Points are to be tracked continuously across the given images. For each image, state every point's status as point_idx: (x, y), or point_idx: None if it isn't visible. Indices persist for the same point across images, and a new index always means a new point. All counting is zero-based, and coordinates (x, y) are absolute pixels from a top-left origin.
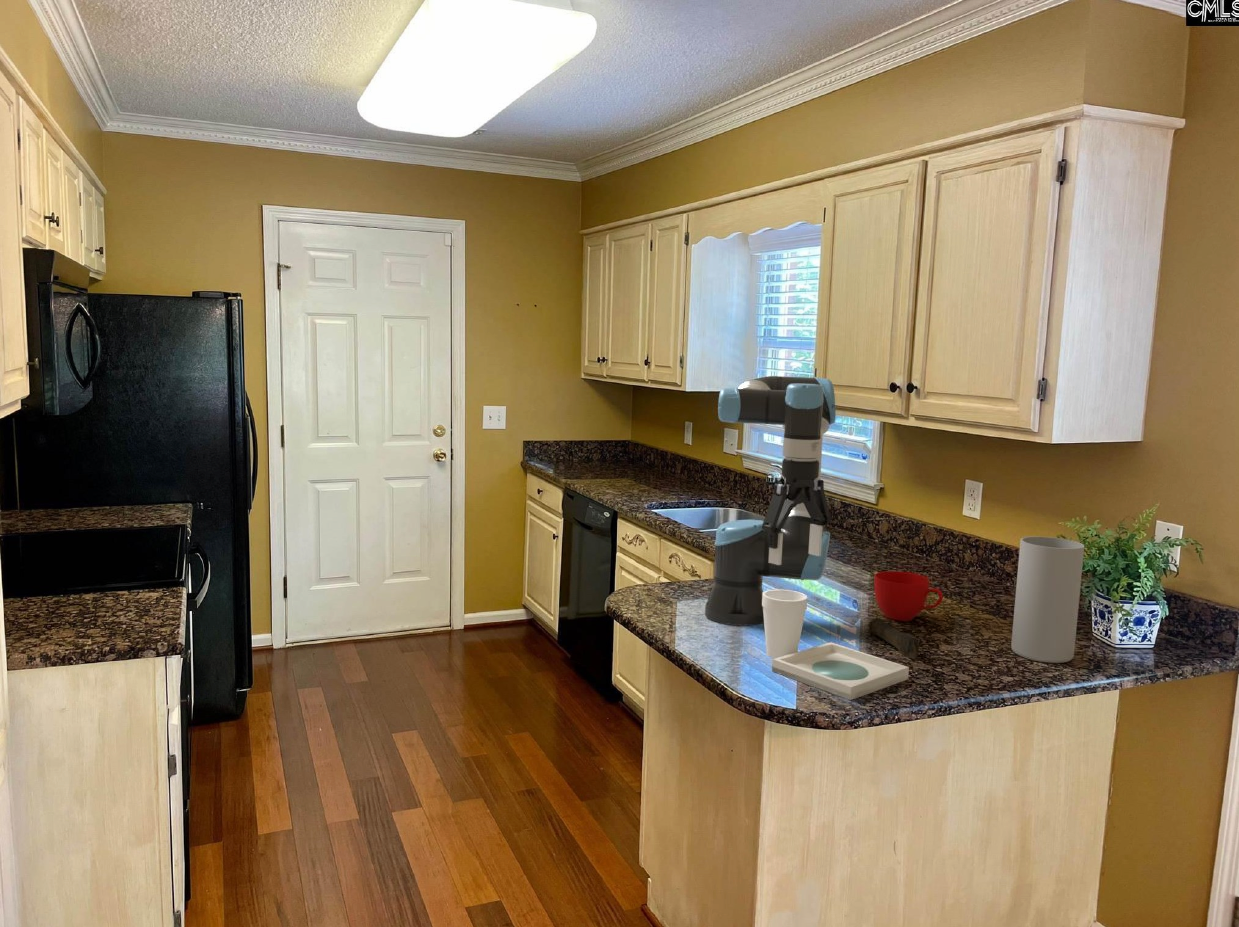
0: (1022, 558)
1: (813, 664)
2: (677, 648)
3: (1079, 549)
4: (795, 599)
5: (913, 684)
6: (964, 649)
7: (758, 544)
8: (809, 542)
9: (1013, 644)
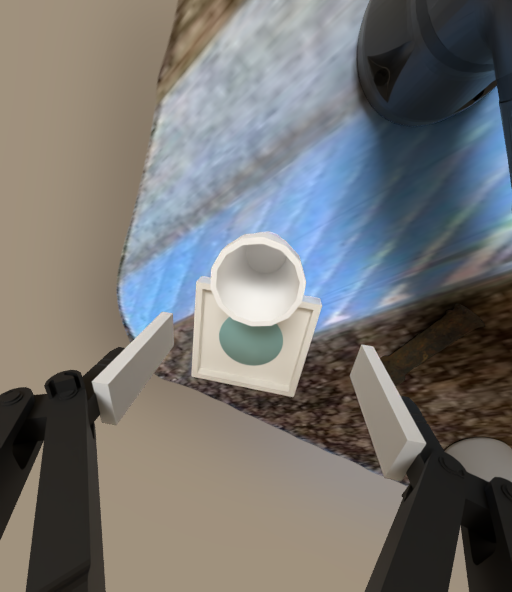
0: None
1: None
2: (165, 104)
3: None
4: (295, 285)
5: None
6: (447, 402)
7: None
8: (374, 372)
9: (468, 448)
